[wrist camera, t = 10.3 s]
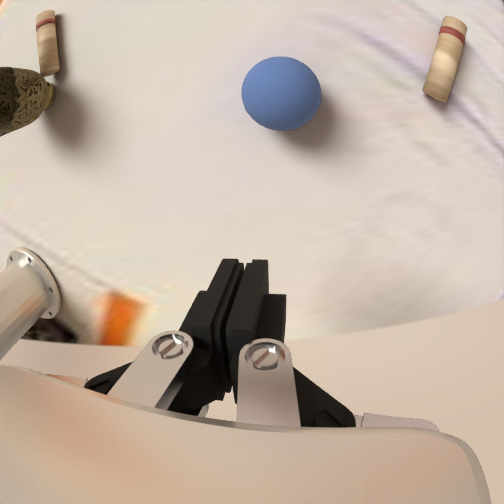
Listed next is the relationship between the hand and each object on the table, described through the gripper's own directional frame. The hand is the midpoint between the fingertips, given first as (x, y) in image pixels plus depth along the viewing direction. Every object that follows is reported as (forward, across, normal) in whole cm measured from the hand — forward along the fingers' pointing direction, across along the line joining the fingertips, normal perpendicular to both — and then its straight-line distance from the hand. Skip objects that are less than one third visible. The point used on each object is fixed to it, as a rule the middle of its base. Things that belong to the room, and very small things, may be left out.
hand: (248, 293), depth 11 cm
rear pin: (+16, +24, -16) cm, 33 cm away
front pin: (+16, -14, -9) cm, 23 cm away
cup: (+17, +26, -13) cm, 34 cm away
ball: (+14, -1, -8) cm, 16 cm away
